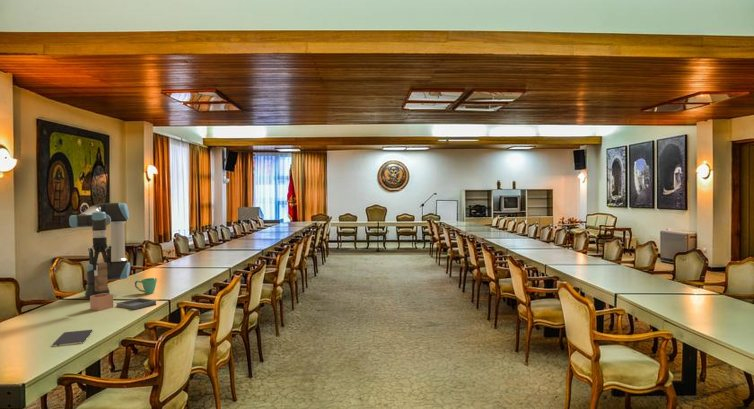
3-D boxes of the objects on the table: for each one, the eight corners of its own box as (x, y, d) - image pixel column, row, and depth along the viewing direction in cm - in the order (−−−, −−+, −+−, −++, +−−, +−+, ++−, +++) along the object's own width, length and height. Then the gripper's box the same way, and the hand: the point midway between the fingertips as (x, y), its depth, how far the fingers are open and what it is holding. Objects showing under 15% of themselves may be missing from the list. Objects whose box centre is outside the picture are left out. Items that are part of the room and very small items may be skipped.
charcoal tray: (116, 307, 304) (116, 303, 304) (140, 302, 318) (139, 297, 318) (132, 310, 297) (132, 305, 296) (156, 305, 311) (155, 300, 310)
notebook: (82, 344, 234) (92, 332, 254) (82, 341, 234) (92, 329, 254) (52, 347, 229) (64, 335, 249) (51, 344, 229) (64, 332, 249)
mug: (158, 291, 353) (158, 277, 352) (155, 294, 343) (154, 280, 343) (137, 292, 350) (136, 278, 350) (132, 295, 340) (132, 281, 340)
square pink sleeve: (90, 310, 298) (89, 295, 298) (104, 307, 306) (104, 293, 306) (99, 312, 294) (98, 297, 294) (113, 308, 302) (113, 294, 302)
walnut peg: (95, 290, 299) (94, 263, 298) (103, 289, 303) (102, 262, 303) (99, 291, 297) (98, 263, 296) (107, 290, 301) (106, 262, 300)
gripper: (88, 238, 289) (89, 277, 290) (117, 235, 305) (118, 272, 306) (81, 238, 293) (82, 276, 294) (110, 235, 308) (111, 271, 309)
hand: (100, 274), depth 300 cm, fingers closed on walnut peg, 5 cm apart
